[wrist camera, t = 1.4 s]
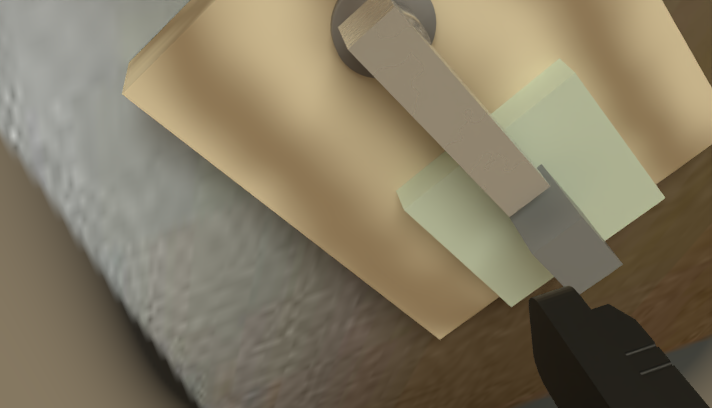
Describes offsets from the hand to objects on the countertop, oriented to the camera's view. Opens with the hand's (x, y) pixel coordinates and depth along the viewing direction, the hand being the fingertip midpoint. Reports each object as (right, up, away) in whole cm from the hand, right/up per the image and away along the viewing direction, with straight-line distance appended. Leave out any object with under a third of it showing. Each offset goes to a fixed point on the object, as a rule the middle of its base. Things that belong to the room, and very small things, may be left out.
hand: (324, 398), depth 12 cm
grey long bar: (+4, +8, +15) cm, 18 cm away
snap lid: (+9, +4, +20) cm, 22 cm away
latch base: (+5, +9, +19) cm, 22 cm away
